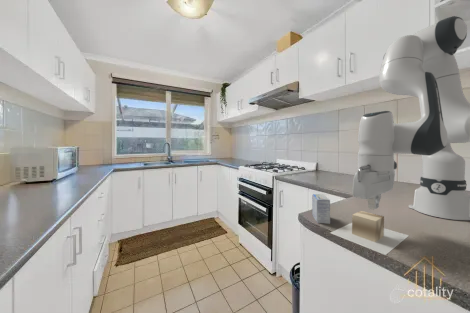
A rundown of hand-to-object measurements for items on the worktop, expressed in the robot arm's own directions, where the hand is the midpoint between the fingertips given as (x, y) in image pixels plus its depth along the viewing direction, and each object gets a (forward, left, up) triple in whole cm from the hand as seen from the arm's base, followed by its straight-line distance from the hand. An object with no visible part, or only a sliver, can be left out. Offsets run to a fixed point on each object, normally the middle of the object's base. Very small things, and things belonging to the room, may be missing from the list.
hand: (373, 208), depth 56 cm
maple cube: (+1, 0, -4) cm, 4 cm away
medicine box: (+4, -15, -8) cm, 17 cm away
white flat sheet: (+3, 0, -8) cm, 8 cm away
